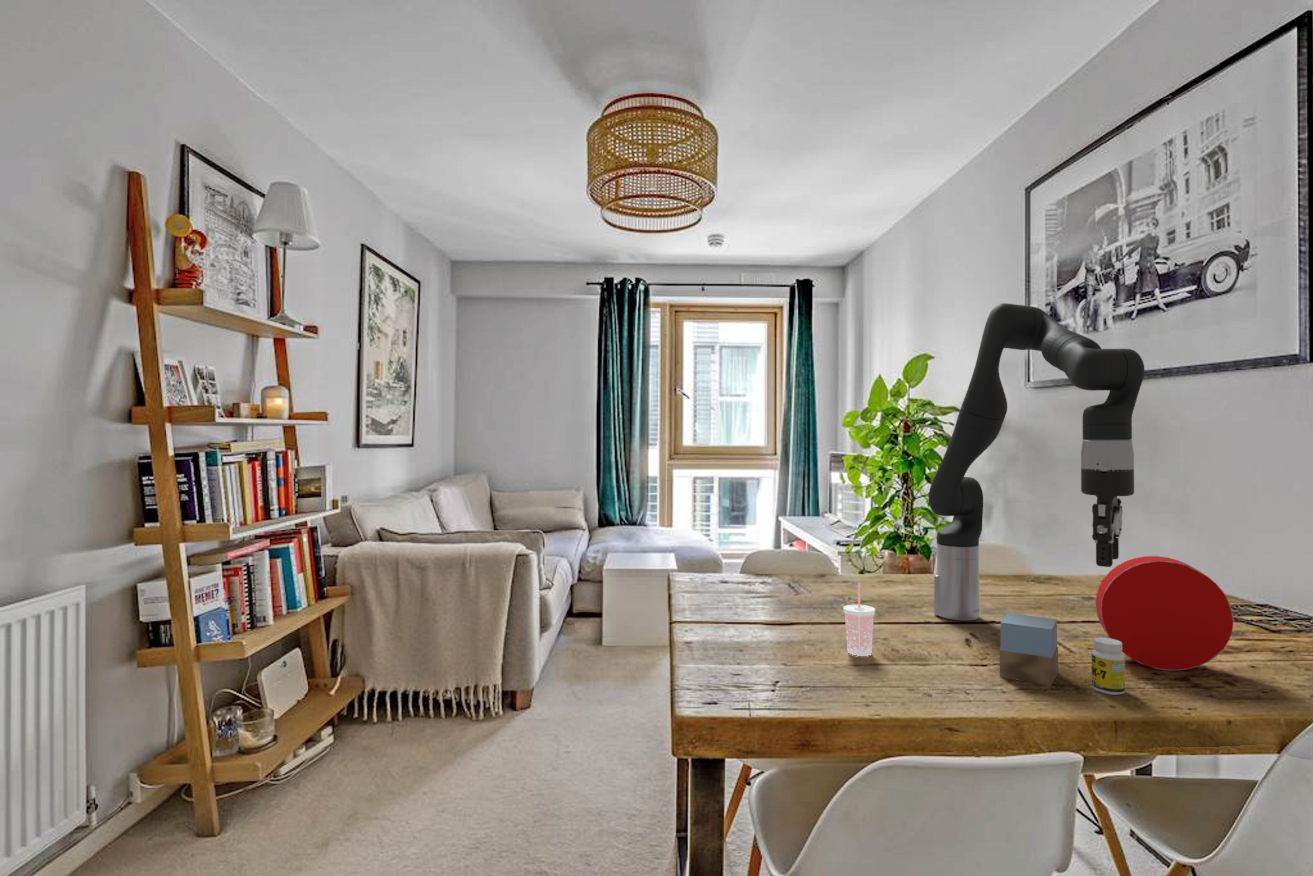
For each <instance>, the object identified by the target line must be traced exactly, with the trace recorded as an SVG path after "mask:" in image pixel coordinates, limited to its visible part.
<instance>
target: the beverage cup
mask: <svg viewBox="0 0 1313 876" xmlns="http://www.w3.org/2000/svg"><path fill="white" fill-rule="evenodd" d="M842 608H843V613H844V619H845V620H844V621H845V633H846V634H845V637H846V648H847V651H848V652H847V651H846V652H847V654H848V653H850V654H852V655H851V656H853V655H857V656H856V657H858V656H867V657H869V656H868V655H870V656H871V655H872V654H871V653H872V652H873V636H874V635H873V633H874V618H875V614H876V608H875V607H872V606H870V605H865V604H861V583H860V582H857V604H848V605H844V606H842ZM850 654H849V655H850Z"/></svg>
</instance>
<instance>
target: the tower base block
mask: <svg viewBox="0 0 1313 876" xmlns="http://www.w3.org/2000/svg"><path fill="white" fill-rule="evenodd" d="M1057 674H1058V675H1059V646H1057V648H1056V650H1055V652H1054V655H1053V657H1052V658H1047V657H1040V656H1034V655H1028V654H1021V653H1015V652H1009V651H1002V650H1001V648H1000V649H999V677H1000V676H1003V677H1002V678H1005V677H1007V678H1006V679H1010V678H1013V679H1012V680H1015V679H1018V680H1017V681H1021V680H1022V681H1021V682H1026V681H1028V682H1027V683H1031V682H1032V683H1031V684H1035V685H1042V686H1047V687H1051V686H1052V684H1053V683H1054V681H1055V680H1056V678H1057V676H1058V675H1057ZM1054 679H1055V680H1054Z"/></svg>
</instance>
